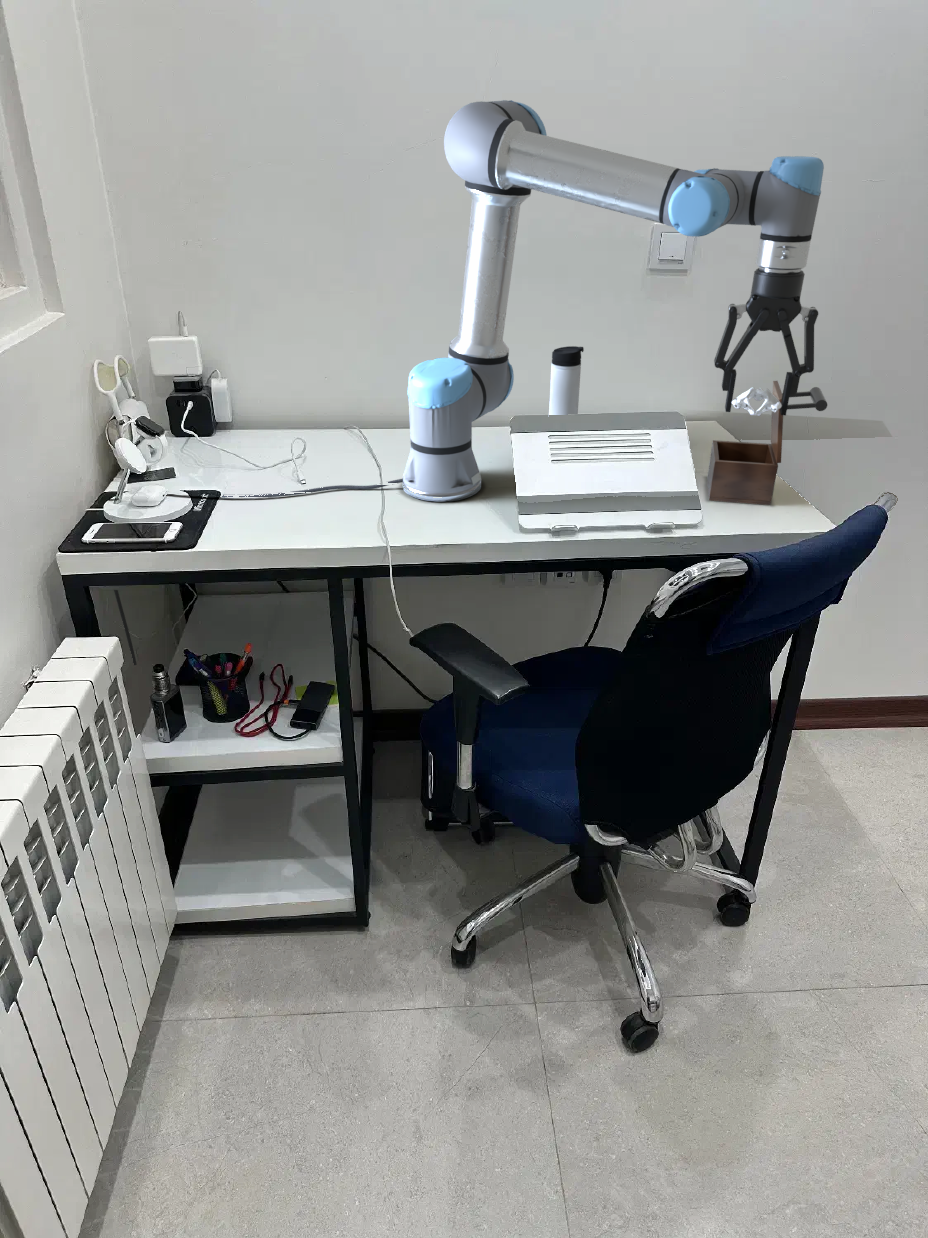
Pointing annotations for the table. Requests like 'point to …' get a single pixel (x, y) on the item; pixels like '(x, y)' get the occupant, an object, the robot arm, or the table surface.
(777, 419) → the lid
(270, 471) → the table surface
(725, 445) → the desk box
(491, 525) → the table surface
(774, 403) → the hip bone replica
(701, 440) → the table surface
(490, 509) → the table surface
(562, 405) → the travel mug
